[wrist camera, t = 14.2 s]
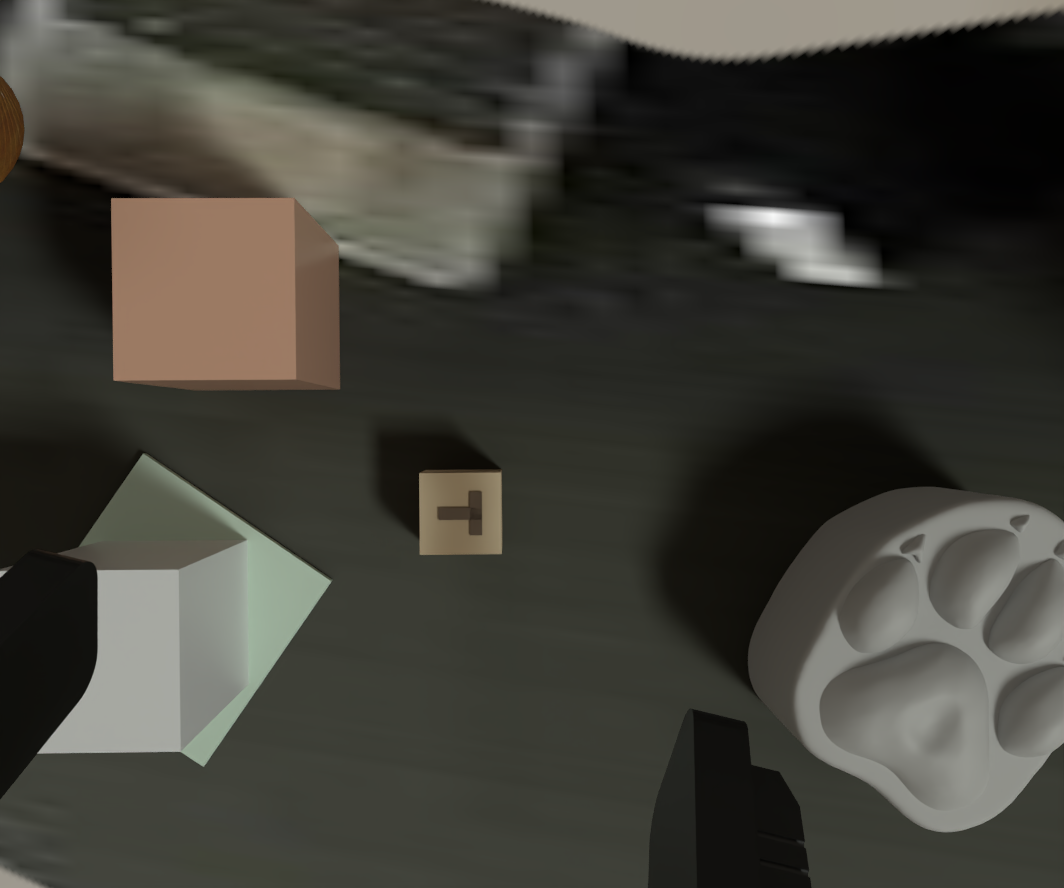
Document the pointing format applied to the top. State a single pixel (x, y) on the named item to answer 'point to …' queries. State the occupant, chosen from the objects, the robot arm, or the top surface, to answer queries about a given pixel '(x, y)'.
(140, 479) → the green mat
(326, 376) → the salmon brown rectangular block
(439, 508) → the letter cube
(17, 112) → the disposable coffee cup
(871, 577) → the lumpy-topped squat cylinder
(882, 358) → the top surface
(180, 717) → the light grey rectangular block
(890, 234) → the top surface
